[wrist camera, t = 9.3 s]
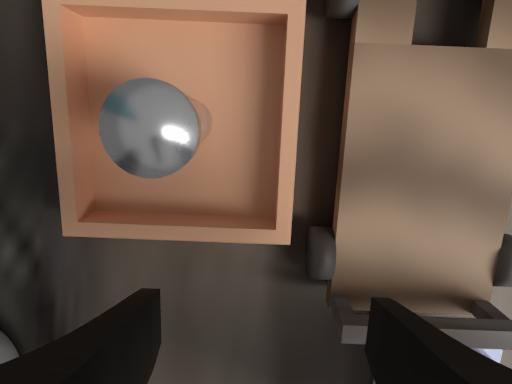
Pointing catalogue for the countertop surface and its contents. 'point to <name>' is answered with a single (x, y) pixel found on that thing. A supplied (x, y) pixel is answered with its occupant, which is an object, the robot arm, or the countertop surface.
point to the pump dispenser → (6, 349)
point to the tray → (196, 88)
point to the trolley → (421, 175)
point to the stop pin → (152, 127)
